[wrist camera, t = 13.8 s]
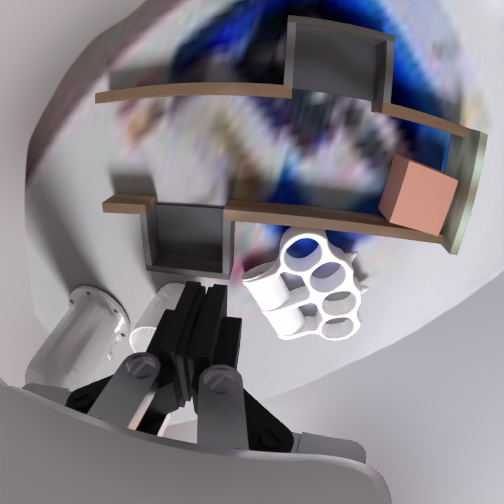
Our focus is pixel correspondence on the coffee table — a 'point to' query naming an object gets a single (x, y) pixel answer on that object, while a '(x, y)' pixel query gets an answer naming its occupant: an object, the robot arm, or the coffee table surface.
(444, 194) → the salmon pink square block
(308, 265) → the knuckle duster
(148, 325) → the white cup
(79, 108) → the coffee table surface
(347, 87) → the channel
